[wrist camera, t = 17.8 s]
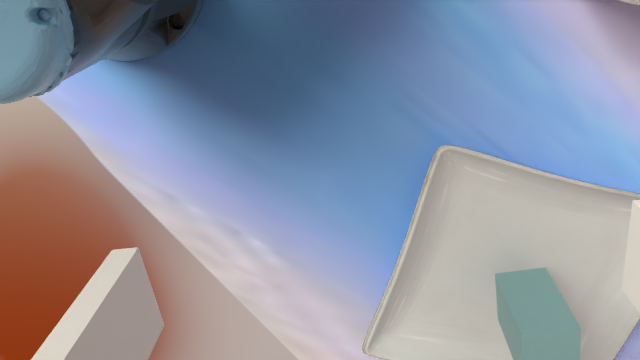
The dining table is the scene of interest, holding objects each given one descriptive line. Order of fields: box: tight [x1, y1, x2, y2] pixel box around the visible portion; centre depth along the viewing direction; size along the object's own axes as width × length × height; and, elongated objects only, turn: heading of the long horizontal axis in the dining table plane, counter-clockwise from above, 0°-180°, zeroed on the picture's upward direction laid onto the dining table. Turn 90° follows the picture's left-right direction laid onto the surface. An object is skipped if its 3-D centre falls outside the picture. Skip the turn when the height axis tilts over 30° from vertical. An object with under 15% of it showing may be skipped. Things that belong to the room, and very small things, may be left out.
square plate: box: [362, 145, 640, 360], centre depth 57 cm, size 27×27×4 cm
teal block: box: [495, 267, 581, 360], centre depth 51 cm, size 5×6×9 cm
